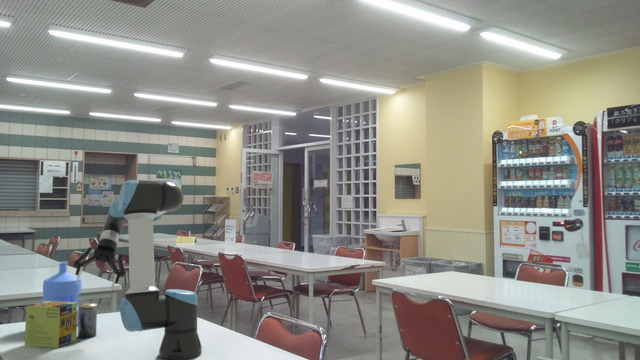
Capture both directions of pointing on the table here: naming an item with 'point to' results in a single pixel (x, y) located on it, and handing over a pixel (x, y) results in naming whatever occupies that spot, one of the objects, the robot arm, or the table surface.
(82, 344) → the table surface
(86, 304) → the gold and gray tin
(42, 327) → the protein box
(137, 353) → the table surface
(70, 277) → the water jug
